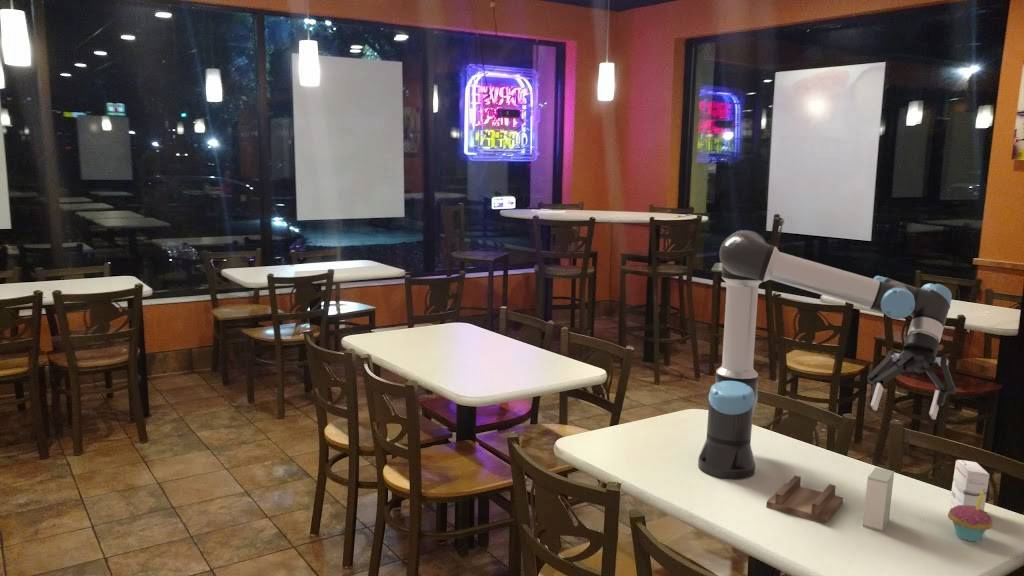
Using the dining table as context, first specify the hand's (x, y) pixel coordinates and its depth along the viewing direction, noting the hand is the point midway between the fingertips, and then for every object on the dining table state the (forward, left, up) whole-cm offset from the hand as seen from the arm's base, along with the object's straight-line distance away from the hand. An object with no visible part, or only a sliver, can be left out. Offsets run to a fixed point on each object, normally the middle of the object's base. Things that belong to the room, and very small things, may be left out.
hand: (902, 412), depth 186 cm
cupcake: (+17, -8, -24) cm, 31 cm away
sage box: (-1, -14, -24) cm, 28 cm away
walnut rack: (-17, -15, -24) cm, 33 cm away
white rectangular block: (+15, +7, -24) cm, 29 cm away
